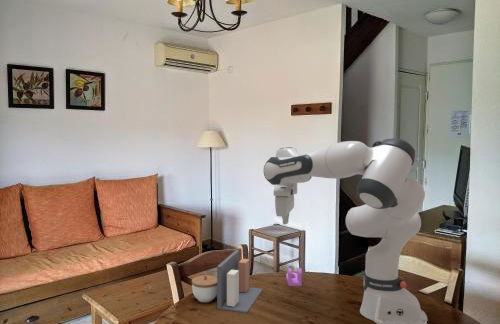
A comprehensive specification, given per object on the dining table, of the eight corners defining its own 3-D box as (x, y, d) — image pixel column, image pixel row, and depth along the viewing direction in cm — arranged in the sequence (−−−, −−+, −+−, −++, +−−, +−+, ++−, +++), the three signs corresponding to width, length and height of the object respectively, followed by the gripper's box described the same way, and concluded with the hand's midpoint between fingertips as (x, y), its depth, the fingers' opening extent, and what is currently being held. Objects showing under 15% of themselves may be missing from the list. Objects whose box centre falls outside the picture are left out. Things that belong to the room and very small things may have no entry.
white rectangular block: (238, 301, 152) (238, 270, 151) (234, 306, 147) (234, 274, 146) (231, 300, 152) (231, 269, 152) (226, 305, 148) (226, 273, 147)
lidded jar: (225, 298, 156) (225, 275, 156) (204, 307, 148) (203, 282, 148) (207, 291, 164) (206, 269, 163) (186, 299, 156) (185, 275, 155)
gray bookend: (262, 290, 165) (262, 252, 164) (247, 312, 144) (247, 269, 143) (236, 287, 168) (236, 249, 167) (217, 308, 147) (217, 266, 146)
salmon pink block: (249, 287, 165) (249, 259, 164) (245, 292, 160) (245, 263, 159) (242, 287, 166) (242, 258, 165) (238, 291, 161) (238, 262, 160)
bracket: (301, 286, 170) (301, 270, 170) (288, 286, 170) (288, 269, 170) (297, 275, 183) (297, 260, 183) (285, 275, 183) (285, 260, 183)
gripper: (282, 185, 167) (282, 217, 168) (272, 191, 148) (272, 228, 149) (298, 185, 166) (297, 218, 167) (289, 192, 146) (289, 230, 147)
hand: (285, 223), depth 157 cm, fingers closed
